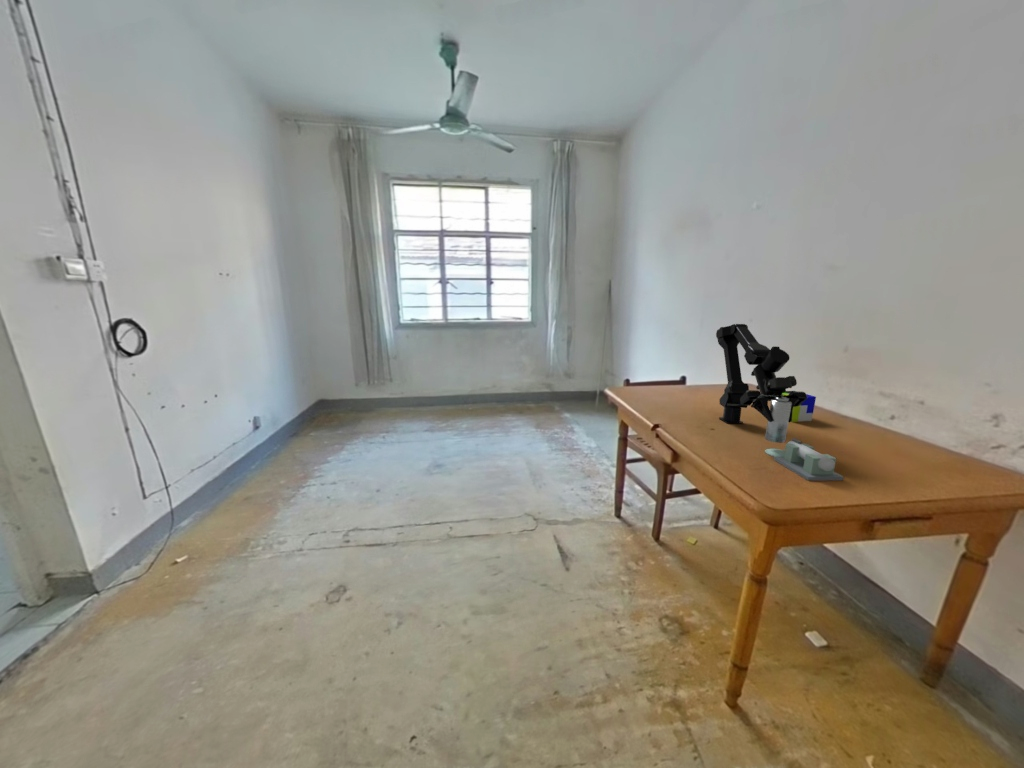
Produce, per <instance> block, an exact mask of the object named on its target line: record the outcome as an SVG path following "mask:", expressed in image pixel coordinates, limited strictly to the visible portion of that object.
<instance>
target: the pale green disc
mask: <svg viewBox="0 0 1024 768" xmlns="http://www.w3.org/2000/svg"><path fill="white" fill-rule="evenodd" d="M764 452H765V454H767V455H768V456H771V457H773V458H774V457H784V452H785V449H780V448H767V449H765V450H764Z"/></svg>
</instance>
